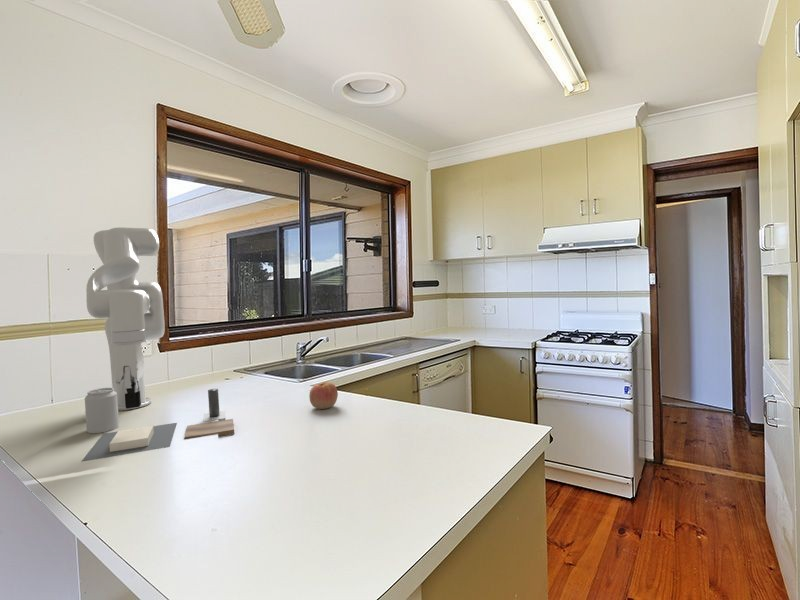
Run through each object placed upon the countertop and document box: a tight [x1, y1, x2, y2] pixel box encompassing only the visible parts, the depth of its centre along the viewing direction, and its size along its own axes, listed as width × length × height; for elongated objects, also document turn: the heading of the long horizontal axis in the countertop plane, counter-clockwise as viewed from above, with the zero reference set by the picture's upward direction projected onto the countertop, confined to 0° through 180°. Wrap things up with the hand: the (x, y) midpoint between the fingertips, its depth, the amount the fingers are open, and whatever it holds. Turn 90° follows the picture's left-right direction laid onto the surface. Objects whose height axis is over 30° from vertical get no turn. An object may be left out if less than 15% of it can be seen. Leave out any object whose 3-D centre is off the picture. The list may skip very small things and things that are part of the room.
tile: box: [109, 425, 154, 452], centre depth 108 cm, size 2×8×10 cm
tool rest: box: [184, 418, 235, 440], centre depth 116 cm, size 10×12×1 cm
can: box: [84, 387, 120, 434], centre depth 119 cm, size 8×8×12 cm
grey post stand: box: [202, 388, 227, 423], centre depth 127 cm, size 8×6×9 cm
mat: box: [80, 422, 178, 462], centre depth 110 cm, size 20×18×1 cm
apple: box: [308, 381, 339, 410], centre depth 134 cm, size 9×9×8 cm
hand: (133, 406), depth 110 cm, fingers closed
